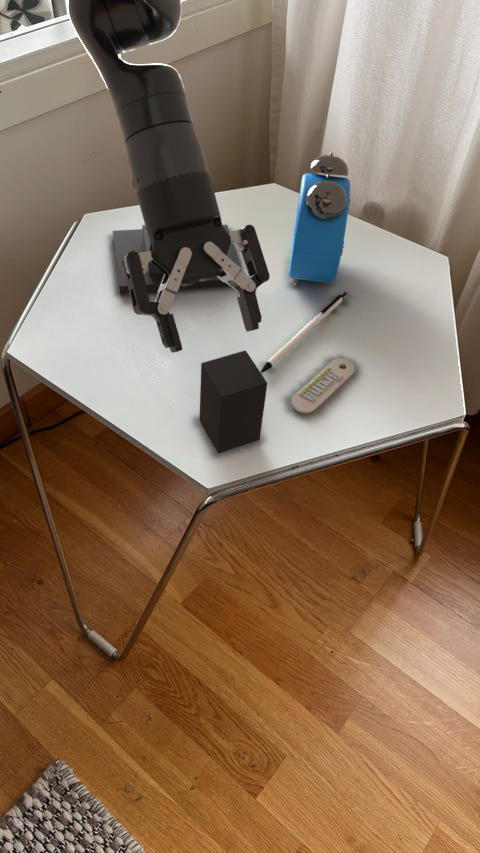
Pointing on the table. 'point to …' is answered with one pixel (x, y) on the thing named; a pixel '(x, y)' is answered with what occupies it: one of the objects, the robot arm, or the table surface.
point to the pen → (303, 332)
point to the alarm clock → (320, 221)
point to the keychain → (322, 386)
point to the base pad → (153, 277)
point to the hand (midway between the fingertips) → (215, 340)
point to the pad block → (232, 401)
